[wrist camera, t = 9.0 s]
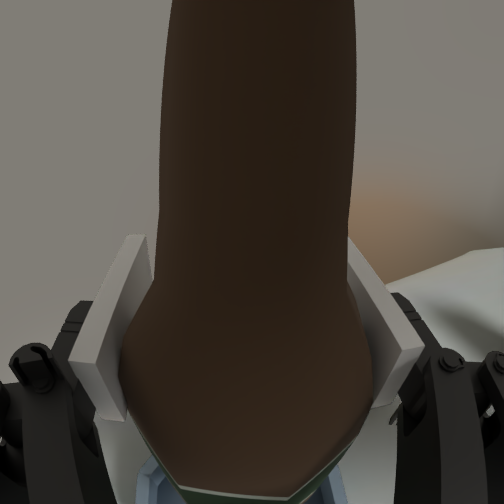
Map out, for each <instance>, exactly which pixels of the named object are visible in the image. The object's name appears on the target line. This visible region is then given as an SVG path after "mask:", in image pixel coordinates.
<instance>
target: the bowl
mask: <svg viewBox="0 0 504 504" xmlns="http://www.w3.org/2000/svg"><path fill="white" fill-rule="evenodd" d="M135 504H186V503H185V502H184V500H183V499H182V498H181V497H180V495H179V494H178V493H177V492H176V490H175V489H174V488H173V486H172V485H171V483H170V482H169V480H168V479H167V477H166V476H165V474H164V472H163V471H162V469H161V468H160V466H159V465H158V463H157V461H156V460H155V458H154V456H153V455H151V457H150V458H149V459H148V460H147V462H146V463H145V464H144V465H143V466H142V468H141V469H140V470H139V473H138V476H137V488H136V501H135ZM304 504H348V501H347V497H346V494H345V490H344V486H343V482H342V478H341V475H340V471H339V467H338V465H336V466H335V467H334V469H333V470H332V471H331V472H330V474H329V475H328V476H327V477H326V479H325V480H324V481H323V482H322V484H321V485H320V486H319V487H318V488H317V490H316V491H315V492H314V493H313V494H312V495H311V497H310V498H309V499H308V500H307V501H306V502H305V503H304Z"/></svg>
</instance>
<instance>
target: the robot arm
mask: <svg viewBox="0 0 504 504" xmlns="http://www.w3.org/2000/svg"><path fill="white" fill-rule="evenodd" d="M347 281H348V283H349V285H350V287H351V290H352V292H353V294H354V296H355V299H356V302H357V306H358V309H359V313H360V317H361V320H362V324H363V328H364V331H365V335H366V339H367V343H368V347H369V351H370V355H371V359H372V376H373V404H372V406H371V409H372V408H376V407H381V406H385V405H389V404H391V403H392V401H393V400H394V398H395V397H396V395H397V394H398V395H399V397H400V399H401V401H402V403H401V404H400V405H399V407H398V408H397V410H396V411H395V413H394V414H393V415H392V417H391V418H390V421H389V425H392V424H393V422H394V421H395V420H396V418H397V423H396V425H397V464H396V481H395V493H394V504H504V353H501V352H499V351H492V352H490V353H488V355H487V356H486V358H485V359H484V361H483V362H465V360H464V358H463V357H462V356H461V355H460V354H459V353H457V352H456V351H454V350H452V349H448V348H442V347H441V346H440V344H439V343H438V341H437V340H436V338H435V337H434V335H433V334H432V332H431V331H430V330H429V328H428V327H427V325H426V324H425V322H424V321H423V320H421V317H420V315H419V314H418V312H416V310H415V308H414V307H413V306H412V304H411V303H410V301H409V300H407V299H406V298H405V297H403V296H402V295H401V294H399V293H390V292H389V291H388V290H387V288H386V287H385V285H384V284H383V283H382V281H381V280H380V279H379V277H378V276H377V274H376V273H375V272H374V270H373V269H372V267H371V266H370V265H369V264H368V262H367V261H366V259H365V258H364V257H363V255H362V254H361V253H360V251H359V250H358V249H357V247H356V246H355V245H354V243H353V242H352V241H351V239H350V238H349V237H348V265H347ZM152 282H153V281H152V276H151V269H150V262H149V255H148V248H147V241H146V234H136V235H128V236H127V237H126V239H125V241H124V243H123V245H122V246H121V248H120V250H119V252H118V254H117V256H116V257H115V260H114V261H113V263H112V265H111V267H110V269H109V271H108V273H107V275H106V277H105V279H104V281H103V283H102V285H101V287H100V289H99V291H98V293H97V295H96V297H95V299H94V301H80V302H79V303H78V304H77V305H76V306H74V307H73V308H72V309H71V310H70V312H69V314H68V316H67V318H66V320H65V323H64V324H63V326H62V328H61V332H60V333H59V334H58V336H57V338H56V341H55V343H54V345H53V347H52V349H51V350H50V349H49V348H48V347H47V346H46V345H44V344H41V343H30V344H27V345H24V346H22V347H21V348H20V349H18V350H17V351H16V352H15V353H14V354H13V356H12V357H11V359H10V362H9V367H10V368H11V370H12V371H13V373H14V374H15V376H16V377H17V379H18V380H19V382H17V383H9V384H2V382H1V381H0V438H1V437H2V441H1V443H0V504H117V502H116V498H115V495H114V492H113V489H112V486H111V482H110V479H109V475H108V472H107V468H106V464H105V460H104V456H103V452H102V448H101V444H100V439H99V434H98V430H97V427H96V425H95V423H94V421H93V419H94V415H95V411H97V413H98V414H99V416H100V417H101V419H104V420H112V421H120V422H125V419H126V413H127V408H128V405H127V402H126V399H125V397H124V394H123V391H122V388H121V386H120V383H119V379H118V371H119V363H120V355H121V348H122V341H123V336H124V334H125V332H126V330H127V329H128V327H129V325H130V323H131V321H132V319H133V317H134V315H135V313H136V312H137V310H138V308H139V306H140V304H141V302H142V300H143V299H144V297H145V295H146V293H147V291H148V289H149V288H150V286H151V284H152ZM491 405H493V407H494V410H495V412H494V413H493V414H492V415H491V416H488V415H487V413H486V411H487V410H488V409H489V407H490V406H491Z"/></svg>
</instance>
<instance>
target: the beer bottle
mask: <svg viewBox="0 0 504 504" xmlns="http://www.w3.org/2000/svg"><path fill="white" fill-rule="evenodd" d="M355 30H356V29H355V10H354V0H172V7H171V14H170V21H169V29H168V37H167V46H166V56H165V66H164V77H163V90H162V106H161V127H160V159H159V162H160V163H159V165H160V166H159V204H160V205H159V206H160V207H159V209H160V210H159V220H158V232H157V243H156V256H155V272H154V280H153V282H152V284H151V286H150V288H149V289H148V291H147V293H146V295H145V297H144V299H143V300H142V302H141V304H140V306H139V308H138V310H137V312H136V313H135V315H134V317H133V319H132V321H131V323H130V325H129V327H128V329H127V330H126V332H125V334H124V336H123V341H122V348H121V355H120V363H119V371H118V379H119V383H120V386H121V388H122V391H123V394H124V397H125V399H126V402H127V405H128V411H129V413H130V415H131V417H132V419H133V421H134V423H135V425H136V426H137V428H138V430H139V432H140V434H141V436H142V437H143V439H144V441H145V443H146V444H147V446H148V448H149V450H150V451H151V453H152V455H153V456H154V458H155V460H156V461H157V463H158V465H159V466H160V468H161V469H162V471H163V472H164V474H165V476H166V477H167V479H168V480H169V482H170V483H171V485H172V486H173V488H174V489H175V490H176V492H177V493H178V494H179V495H180V497H181V498H182V499H183V500H184V502H185V503H186V504H304V503H305V502H306V501H307V500H308V499H309V498H310V497H311V495H312V494H313V493H314V492H315V491H316V490H317V488H318V487H319V486H320V485H321V484H322V482H323V481H324V480H325V479H326V477H327V476H328V475H329V474H330V472H331V471H332V470H333V469H334V467H335V466H336V465H337V463H338V462H339V461H340V459H341V458H342V457H343V455H344V454H345V453H346V451H347V450H348V448H349V447H350V446H351V444H352V443H353V441H354V440H355V438H356V437H357V436H358V434H359V432H360V430H361V428H362V426H363V424H364V421H365V419H366V417H367V415H368V413H369V411H370V409H371V406H372V404H373V376H372V359H371V355H370V351H369V347H368V343H367V339H366V335H365V331H364V328H363V324H362V320H361V317H360V313H359V309H358V306H357V302H356V299H355V296H354V294H353V292H352V290H351V287H350V285H349V283H348V281H347V265H348V217H349V207H350V197H351V186H352V173H353V159H354V143H355V122H356V31H355Z"/></svg>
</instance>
